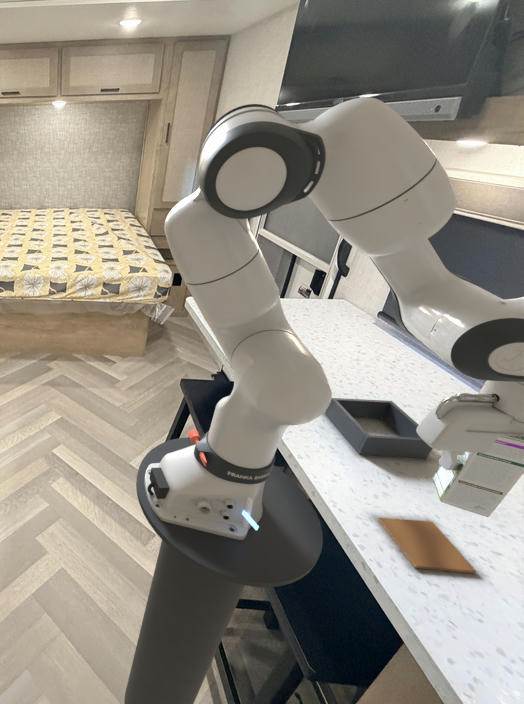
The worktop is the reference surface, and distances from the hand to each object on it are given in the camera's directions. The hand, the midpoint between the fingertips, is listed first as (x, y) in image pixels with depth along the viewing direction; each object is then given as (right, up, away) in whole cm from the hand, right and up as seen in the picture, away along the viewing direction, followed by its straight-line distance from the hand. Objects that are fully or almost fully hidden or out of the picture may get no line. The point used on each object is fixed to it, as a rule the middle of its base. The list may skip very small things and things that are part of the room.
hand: (478, 469), depth 60 cm
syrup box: (0, -6, +3) cm, 6 cm away
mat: (0, -16, +9) cm, 19 cm away
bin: (+12, -3, +32) cm, 35 cm away
